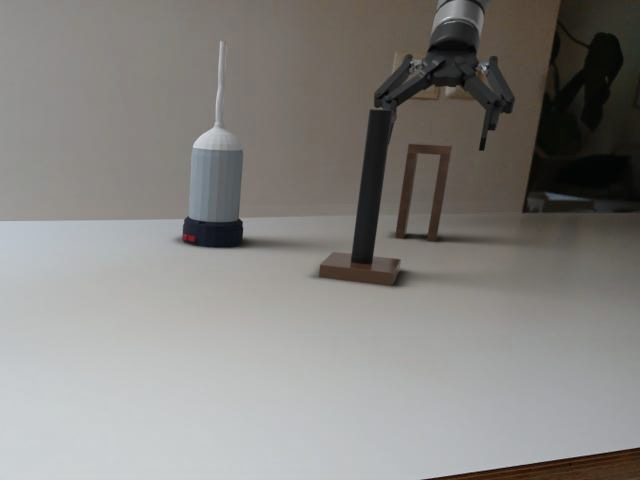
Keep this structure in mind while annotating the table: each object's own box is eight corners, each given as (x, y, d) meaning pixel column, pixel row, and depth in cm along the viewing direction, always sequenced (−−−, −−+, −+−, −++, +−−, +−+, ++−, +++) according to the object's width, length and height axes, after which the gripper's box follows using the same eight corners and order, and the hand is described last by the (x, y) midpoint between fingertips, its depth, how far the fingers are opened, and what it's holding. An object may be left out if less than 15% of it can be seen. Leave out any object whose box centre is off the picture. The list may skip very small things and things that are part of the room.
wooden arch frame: (437, 237, 109) (452, 144, 104) (435, 242, 105) (451, 146, 101) (397, 233, 111) (411, 142, 106) (394, 238, 107) (408, 143, 103)
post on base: (404, 261, 93) (427, 109, 87) (391, 286, 80) (417, 111, 74) (340, 253, 96) (357, 106, 89) (318, 277, 83) (337, 108, 77)
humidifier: (174, 244, 98) (183, 38, 89) (191, 234, 105) (201, 43, 96) (234, 250, 95) (249, 39, 87) (248, 239, 103) (262, 44, 94)
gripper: (536, 59, 117) (520, 164, 109) (374, 56, 125) (349, 153, 118) (545, 19, 110) (530, 128, 102) (374, 19, 119) (348, 119, 111)
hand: (433, 141), depth 110 cm, fingers open, 13 cm apart
